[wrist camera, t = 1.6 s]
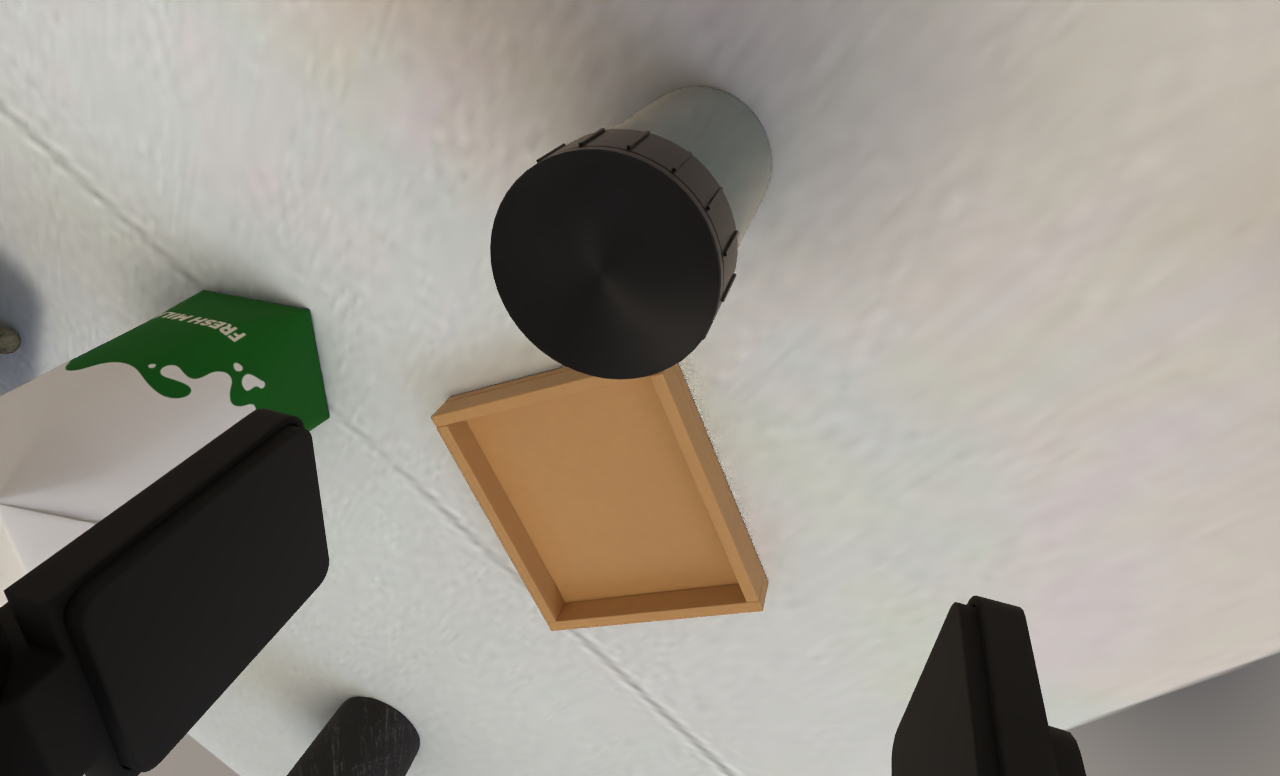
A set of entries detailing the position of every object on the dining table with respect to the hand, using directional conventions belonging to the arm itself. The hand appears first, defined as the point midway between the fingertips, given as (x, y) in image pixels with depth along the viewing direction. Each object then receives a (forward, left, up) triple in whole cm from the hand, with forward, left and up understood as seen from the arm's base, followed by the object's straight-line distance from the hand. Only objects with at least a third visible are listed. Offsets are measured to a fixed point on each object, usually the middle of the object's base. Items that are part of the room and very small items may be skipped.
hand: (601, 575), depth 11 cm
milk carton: (+1, -32, -25) cm, 40 cm away
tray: (+14, -15, -25) cm, 32 cm away
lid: (-1, -4, -12) cm, 13 cm away
